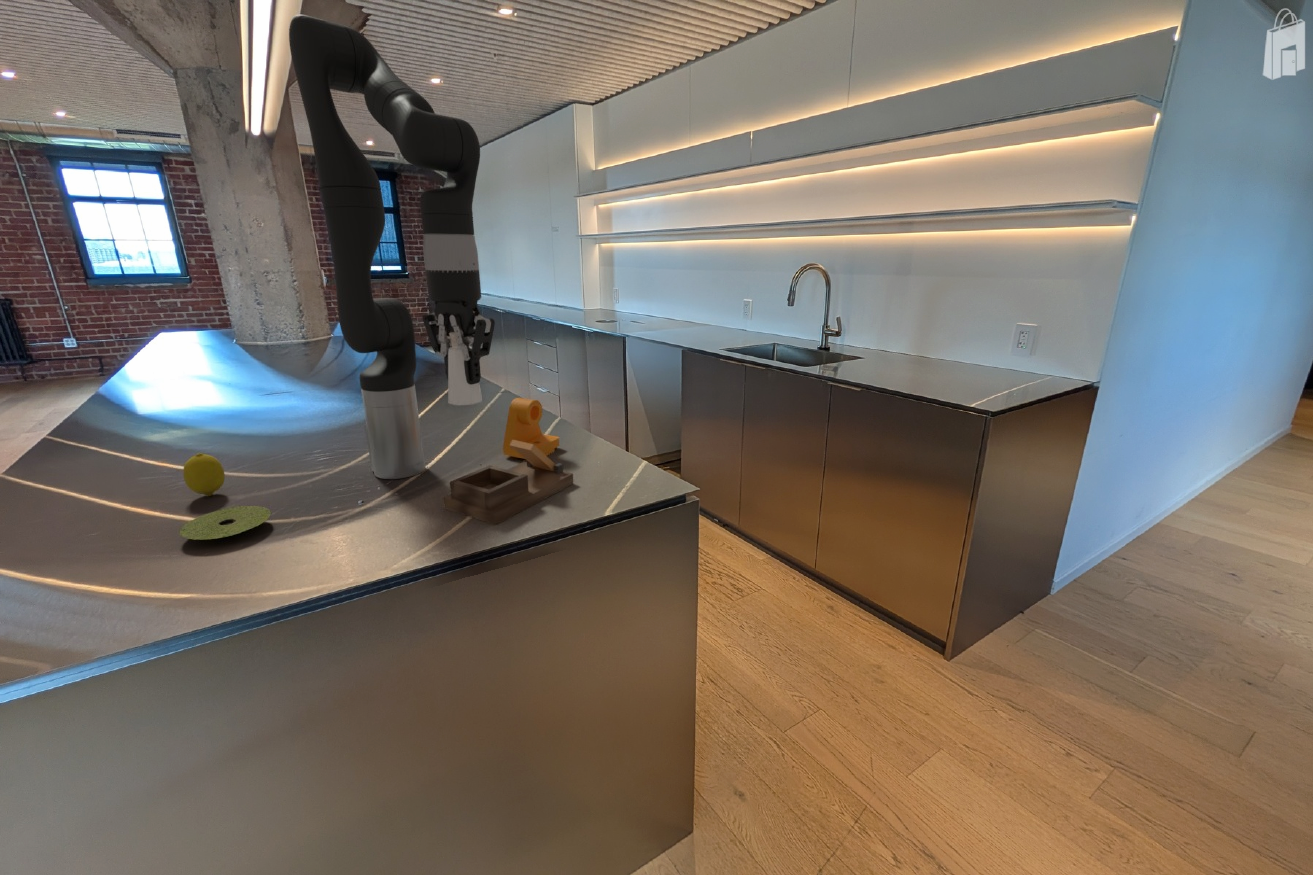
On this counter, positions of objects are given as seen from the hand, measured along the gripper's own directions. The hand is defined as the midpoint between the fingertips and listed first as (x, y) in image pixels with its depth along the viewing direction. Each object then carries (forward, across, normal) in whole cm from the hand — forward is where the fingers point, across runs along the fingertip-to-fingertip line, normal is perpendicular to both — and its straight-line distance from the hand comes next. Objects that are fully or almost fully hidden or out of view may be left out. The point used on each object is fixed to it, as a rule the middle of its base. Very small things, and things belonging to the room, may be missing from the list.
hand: (463, 381), depth 88 cm
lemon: (+22, +44, +21) cm, 53 cm away
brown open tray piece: (+22, -1, -8) cm, 24 cm away
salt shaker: (+4, 0, 0) cm, 4 cm away
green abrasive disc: (+22, +26, +26) cm, 43 cm away
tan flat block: (+17, -1, -14) cm, 22 cm away
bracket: (+23, +12, -26) cm, 37 cm away
